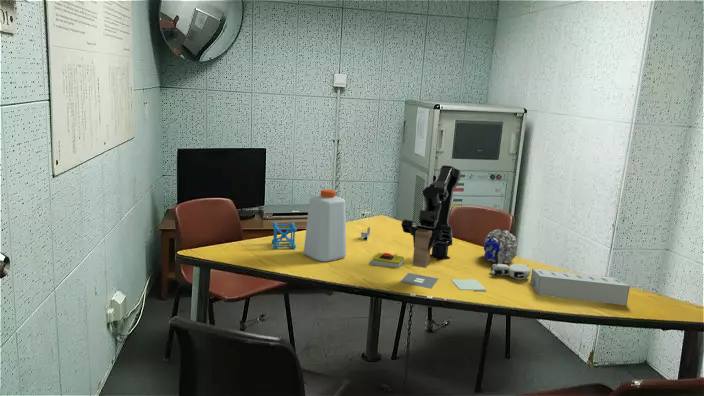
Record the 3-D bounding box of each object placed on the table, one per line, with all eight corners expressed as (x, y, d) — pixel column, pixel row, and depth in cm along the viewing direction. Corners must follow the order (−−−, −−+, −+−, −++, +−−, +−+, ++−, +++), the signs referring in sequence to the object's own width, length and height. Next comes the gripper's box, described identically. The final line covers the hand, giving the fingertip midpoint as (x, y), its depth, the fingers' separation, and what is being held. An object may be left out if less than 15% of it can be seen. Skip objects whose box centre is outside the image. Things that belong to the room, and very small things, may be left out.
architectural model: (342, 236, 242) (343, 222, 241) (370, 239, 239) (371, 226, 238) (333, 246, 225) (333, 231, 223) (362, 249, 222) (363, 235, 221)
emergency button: (375, 249, 209) (409, 254, 204) (374, 259, 210) (409, 264, 205) (368, 254, 200) (404, 260, 195) (367, 265, 201) (403, 271, 196)
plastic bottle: (299, 253, 209) (302, 188, 203) (327, 248, 219) (331, 186, 213) (321, 263, 198) (324, 195, 192) (349, 257, 208) (354, 192, 202)
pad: (450, 280, 187) (450, 279, 187) (475, 281, 189) (475, 279, 189) (460, 290, 178) (460, 289, 177) (486, 291, 179) (486, 289, 179)
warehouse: (612, 291, 188) (615, 272, 186) (626, 306, 174) (629, 286, 172) (530, 282, 192) (532, 263, 191) (537, 296, 178) (540, 276, 177)
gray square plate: (408, 273, 192) (408, 272, 192) (438, 279, 188) (438, 278, 188) (399, 283, 181) (399, 282, 181) (431, 289, 177) (431, 288, 177)
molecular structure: (273, 249, 212) (273, 227, 210) (271, 243, 222) (272, 221, 220) (296, 249, 215) (297, 227, 213) (293, 242, 224) (294, 221, 222)
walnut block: (416, 261, 187) (419, 228, 184) (429, 264, 185) (432, 230, 182) (412, 265, 182) (415, 231, 180) (425, 268, 180) (428, 233, 178)
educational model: (480, 274, 215) (480, 247, 207) (486, 244, 230) (487, 219, 221) (513, 278, 210) (515, 252, 202) (518, 248, 225) (519, 222, 216)
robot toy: (489, 279, 194) (530, 283, 189) (490, 268, 193) (530, 272, 188) (491, 270, 206) (530, 274, 201) (492, 260, 205) (530, 263, 200)
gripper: (404, 198, 186) (393, 233, 178) (454, 205, 179) (444, 241, 171) (409, 214, 195) (398, 248, 187) (456, 221, 188) (447, 257, 180)
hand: (421, 248), depth 181 cm, fingers closed on walnut block, 5 cm apart
